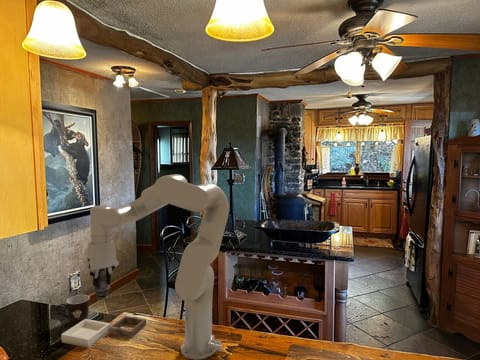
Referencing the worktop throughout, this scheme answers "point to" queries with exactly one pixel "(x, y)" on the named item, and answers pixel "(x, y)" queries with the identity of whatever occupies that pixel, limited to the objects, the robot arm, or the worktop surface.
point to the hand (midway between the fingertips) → (102, 284)
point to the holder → (119, 331)
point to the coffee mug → (76, 309)
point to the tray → (85, 333)
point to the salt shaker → (102, 286)
